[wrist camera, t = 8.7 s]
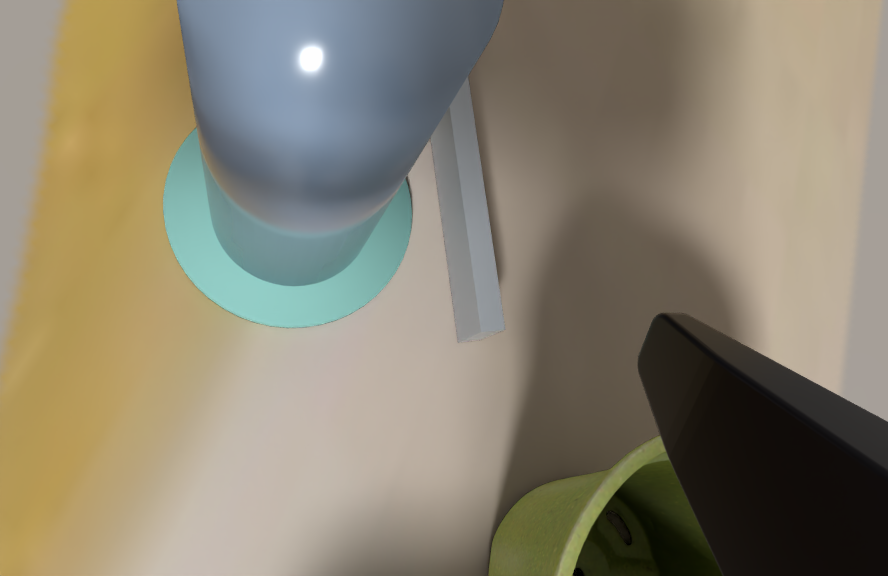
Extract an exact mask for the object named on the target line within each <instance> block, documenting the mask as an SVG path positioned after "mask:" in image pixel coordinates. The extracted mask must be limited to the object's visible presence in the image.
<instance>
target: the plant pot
mask: <svg viewBox="0 0 888 576" xmlns="http://www.w3.org/2000/svg"><path fill="white" fill-rule="evenodd" d="M607 511H613V512H615V513H617V514H618V515H619V516H620V517H621V518H622V520H623V522H624V523H625V525H626V526H627V527H628V529H629V532H630V534H631V538H632V543H631V544H630V545H627V544H625V542H624V540H623V539H622V537H621V536H620V533H619V532H618V530H617V528H616V527H615V526H614V525H613V524H612V523H611V522H610V521H609V520H608V519H607V517H606V512H607ZM576 568H580V569H581V570H582V571H583V573H584V576H723V575H722V573H721V571H720V569H719V566H718V564H717V562H716V560H715V558H714V556H713V554H712V551H711V549H710V547H709V545H708V543H707V541H706V539H705V536H704V534H703V532H702V530H701V528H700V526H699V524H698V521H697V519H696V517H695V515H694V513H693V511H692V509H691V506H690V504H689V502H688V500H687V498H686V496H685V494H684V491H683V489H682V487H681V485H680V483H679V481H678V479H677V476H676V474H675V472H674V470H673V467H672V465H671V463H670V461H669V458H668V456H667V453H666V450H665V448H664V445H663V442H662V439H661V436H660V435H659V436H657V437H654V438H652V439H650V440H649V441H647V442H645V443H643V444H642V445H640V446H638V447H637V448H635V449H634V450H632V451H631V452H629V453H628V454H626V455H625V456H624V457H623V458H622V459H621V460H620V461H619V462H617V463H616V464H615V465H614V466H613V467H612V468H611V469H609V470H604V471H600V472H595V473H591V474H586V475H580V476H575V477H570V478H565V479H560V480H556V481H552V482H549V483H546V484H543V485H541V486H539V487H537V488H535V489H533V490H532V491H530V492H528V493H527V494H526V495H525V496H523V497H522V498H521V499H520V500H519V501H518V502H517V503H516V504H515V505H514V506H513V507H512V508H511V509H510V511H509V512H508V513H507V515H506V516H505V517H504V519H503V520H502V522H501V524H500V525H499V527H498V529H497V531H496V533H495V536H494V539H493V542H492V548H491V555H490V564H489V575H488V576H572V575H573V572H574V569H576Z"/></svg>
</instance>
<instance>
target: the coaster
mask: <svg viewBox="0 0 888 576" xmlns="http://www.w3.org/2000/svg"><path fill="white" fill-rule="evenodd" d="M163 213H164V220H165V227H166V231H167V235H168V238H169V242H170V245H171V247H172V249H173V252H174V254H175V256H176V258H177V260H178V262H179V264H180V265H181V267H182V269H183V270H184V272H185V273H186V275H187V276H188V277H189V279H190V280H191V281H192V282H193V283H194V284H195V286H196V287H197V288H198V289H199V290H200V291H201V292H202V293H204V294H205V295H206V296H207V297H208V298H209V299H210V300H212V301H213V302H215V303H216V304H217V305H219V306H220V307H222V308H223V309H225V310H227V311H229V312H231V313H233V314H234V315H236V316H238V317H241V318H244V319H246V320H249V321H252V322H254V323H259V324H263V325H267V326H273V327H283V328H304V327H311V326H317V325H322V324H326V323H329V322H332V321H336V320H338V319H340V318H343V317H345V316H347V315H349V314H351V313H353V312H355V311H356V310H358V309H360V308H361V307H363V306H364V305H365V304H367V303H368V302H369V301H370V300H372V299H373V298H374V297H375V296H376V295H377V294H378V293H379V292H380V291H381V290H382V289H383V288H384V287H385V286H386V285H387V284H388V282H389V281H390V279H391V278H392V277H393V275H394V274H395V272H396V271H397V269H398V267H399V265H400V263H401V261H402V259H403V257H404V254H405V251H406V248H407V246H408V242H409V237H410V232H411V222H412V209H411V199H410V194H409V188H408V185H407V182H406V179H405V180H404V181H403V183H402V185H401V186H400V188H399V190H398V191H397V193H396V194H395V196H394V198H393V199H392V201H391V203H390V204H389V206H388V208H387V209H386V211H385V212H384V214H383V216H382V217H381V219H380V221H379V222H378V224H377V226H376V227H375V229H374V230H373V232H372V234H371V235H370V237H369V239H368V240H367V242H366V244H365V245H364V247H363V248H362V250H361V251H360V253H359V254H358V256H357V257H356V258H355V260H354V261H353V262H352V263H351V264H350V265H349V266H348V267H346V268H345V269H344V270H343V271H341V272H340V273H338V274H337V275H335V276H333V277H331V278H329V279H327V280H325V281H322V282H319V283H316V284H311V285H306V286H283V285H278V284H273V283H269V282H266V281H263V280H261V279H259V278H257V277H255V276H252V275H251V274H249V273H248V272H246V271H244V270H243V269H242V268H241V267H239V266H238V265H237V264H236V263H235V262H234V261H233V260H232V259H231V258H230V257H229V256H228V255H227V254H226V252H225V251H224V249H223V248H222V246H221V245H220V243H219V241H218V239H217V237H216V234H215V232H214V229H213V226H212V221H211V216H210V209H209V203H208V197H207V190H206V184H205V177H204V171H203V165H202V158H201V152H200V146H199V139H198V133H197V127H196V128H195V129H194V130H193V131H192V132H191V134H190V135H189V136H188V137H187V138H186V139H185V141H184V142H183V144H182V145H181V147H180V148H179V150H178V151H177V153H176V155H175V157H174V159H173V162H172V164H171V166H170V169H169V172H168V175H167V179H166V183H165V190H164V197H163Z"/></svg>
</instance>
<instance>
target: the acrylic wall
mask: <svg viewBox="0 0 888 576" xmlns="http://www.w3.org/2000/svg"><path fill="white" fill-rule="evenodd" d="M430 138H431V145H432V153H433V160H434V168H435V175H436V182H437V190H438V197H439V205H440V212H441V220H442V227H443V234H444V242H445V249H446V257H447V264H448V272H449V279H450V286H451V294H452V301H453V309H454V316H455V323H456V331H457V338H458V343H459V342H469V341H478V340H482V339H484V338H487V337H489V336H492V335H494V334H496V333H499V332H501V331H503V330H505V324H504V317H503V310H502V303H501V297H500V290H499V283H498V276H497V269H496V263H495V256H494V249H493V242H492V235H491V229H490V222H489V215H488V208H487V201H486V194H485V188H484V181H483V174H482V167H481V160H480V154H479V147H478V140H477V133H476V126H475V120H474V113H473V106H472V99H471V92H470V86H469V79H468V77H467V78H466V80H465V82H464V83H463V85H462V86H461V88H460V90H459V91H458V93H457V95H456V96H455V98H454V100H453V101H452V103H451V104H450V106H449V108H448V109H447V111H446V113H445V114H444V116H443V118H442V119H441V121H440V122H439V124H438V126H437V127H436V129H435V131H434V132H433V134H432V136H431V137H430Z"/></svg>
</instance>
